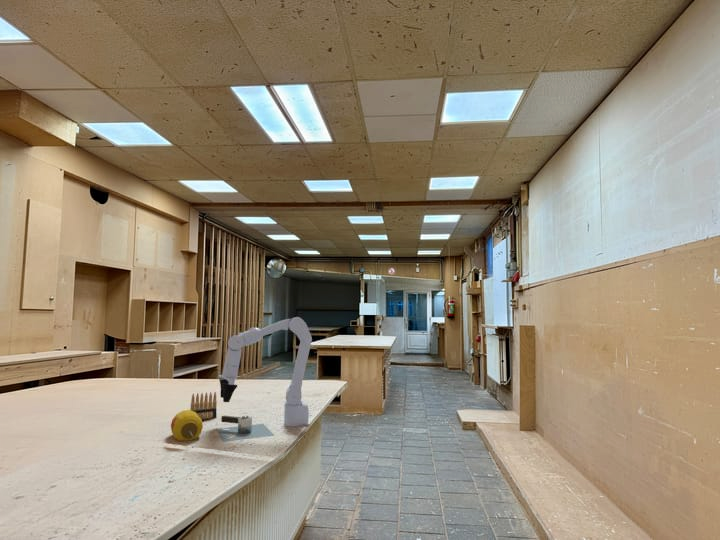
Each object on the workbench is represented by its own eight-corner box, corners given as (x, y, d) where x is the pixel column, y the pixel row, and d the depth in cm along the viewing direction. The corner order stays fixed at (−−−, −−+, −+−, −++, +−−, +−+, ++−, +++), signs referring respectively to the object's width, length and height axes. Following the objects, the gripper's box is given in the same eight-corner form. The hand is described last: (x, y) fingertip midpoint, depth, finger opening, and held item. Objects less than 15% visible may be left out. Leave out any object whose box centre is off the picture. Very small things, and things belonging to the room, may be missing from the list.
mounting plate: (263, 426, 163) (263, 423, 163) (274, 438, 147) (274, 434, 147) (216, 432, 155) (216, 428, 156) (222, 445, 139) (222, 441, 139)
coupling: (254, 430, 153) (254, 415, 154) (246, 433, 148) (247, 418, 149) (226, 427, 157) (226, 412, 158) (218, 430, 152) (218, 415, 153)
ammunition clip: (189, 423, 168) (191, 393, 169) (189, 422, 169) (190, 393, 171) (216, 420, 173) (217, 391, 174) (215, 419, 174) (217, 391, 176)
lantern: (172, 402, 157) (182, 419, 132) (198, 405, 162) (212, 422, 136) (164, 429, 155) (172, 451, 129) (190, 431, 160) (203, 453, 134)
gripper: (219, 361, 167) (212, 394, 166) (224, 367, 154) (216, 403, 153) (236, 363, 170) (229, 396, 169) (242, 368, 157) (235, 404, 156)
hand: (224, 399), depth 161 cm, fingers open, 7 cm apart
